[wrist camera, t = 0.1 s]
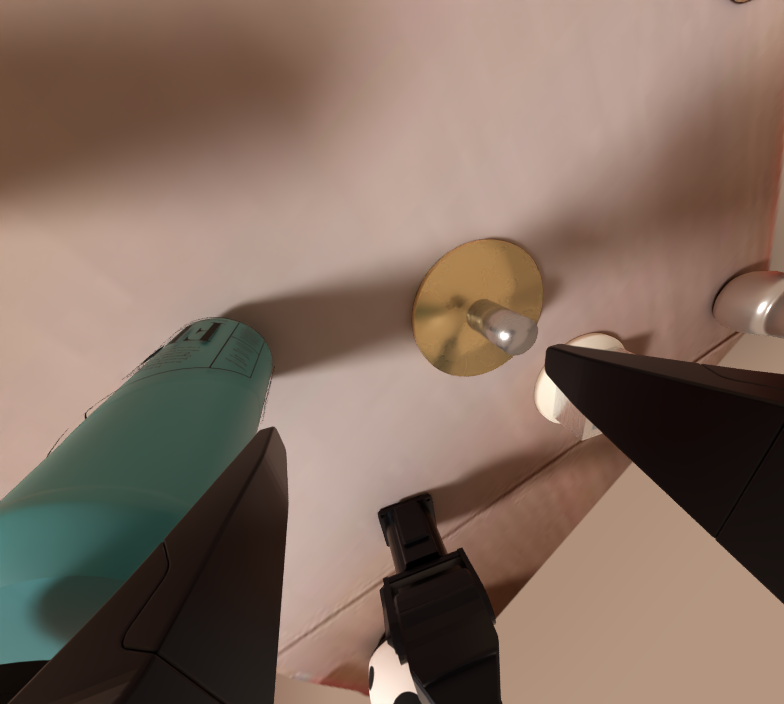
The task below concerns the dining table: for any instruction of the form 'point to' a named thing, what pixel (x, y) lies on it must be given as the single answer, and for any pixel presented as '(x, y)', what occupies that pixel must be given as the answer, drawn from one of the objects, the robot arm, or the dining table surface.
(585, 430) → the collar
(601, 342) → the stand
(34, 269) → the dining table surface
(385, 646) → the milk container
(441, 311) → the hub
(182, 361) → the beverage bottle
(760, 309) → the plastic bottle
